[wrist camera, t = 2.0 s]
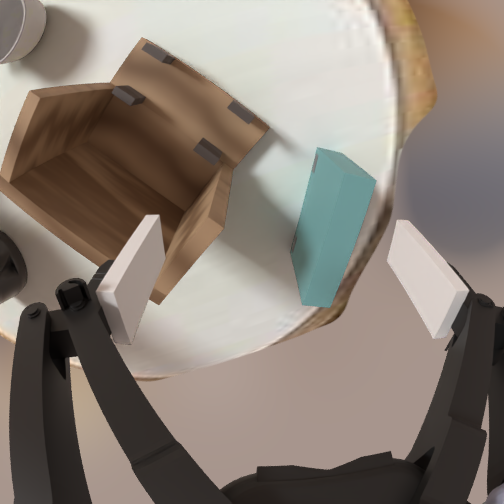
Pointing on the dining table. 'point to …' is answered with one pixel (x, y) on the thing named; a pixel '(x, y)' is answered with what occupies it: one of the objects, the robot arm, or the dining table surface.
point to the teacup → (20, 28)
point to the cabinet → (131, 159)
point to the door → (329, 225)
